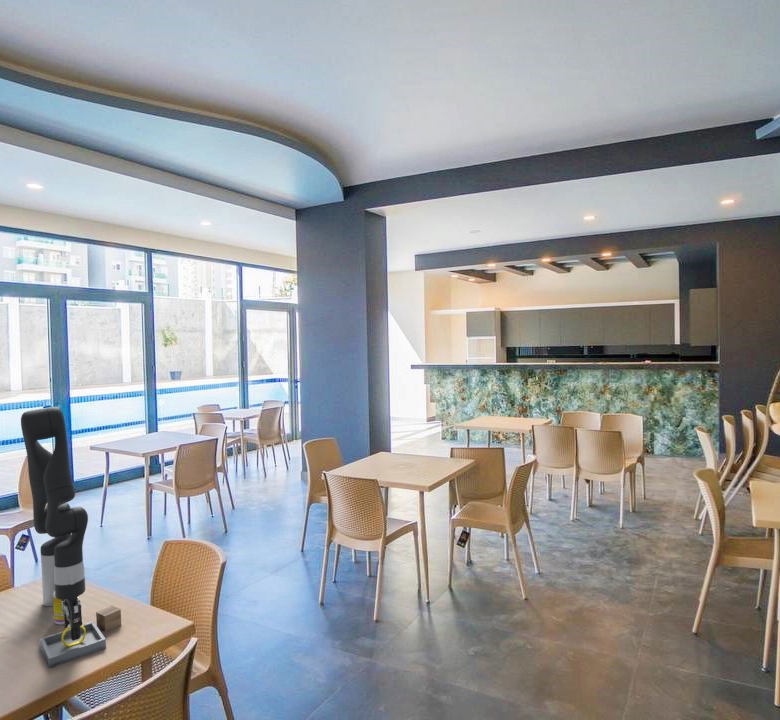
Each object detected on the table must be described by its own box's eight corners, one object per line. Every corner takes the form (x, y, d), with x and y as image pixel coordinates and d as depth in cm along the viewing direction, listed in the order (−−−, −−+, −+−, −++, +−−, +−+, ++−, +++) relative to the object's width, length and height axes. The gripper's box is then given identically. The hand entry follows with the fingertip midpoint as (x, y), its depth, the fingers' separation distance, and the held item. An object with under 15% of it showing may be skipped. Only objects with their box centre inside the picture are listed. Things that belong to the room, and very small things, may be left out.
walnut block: (96, 628, 168) (96, 612, 168) (112, 620, 173) (111, 605, 172) (105, 632, 166) (104, 616, 166) (121, 625, 170) (120, 609, 170)
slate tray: (40, 647, 158) (40, 638, 158) (94, 629, 167) (93, 621, 167) (49, 668, 148) (49, 658, 147) (106, 647, 157) (105, 639, 157)
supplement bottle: (67, 626, 170) (65, 585, 170) (49, 624, 171) (47, 584, 171) (83, 615, 176) (81, 576, 176) (65, 614, 178) (63, 575, 177)
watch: (63, 651, 155) (60, 631, 155) (62, 646, 157) (59, 627, 157) (87, 642, 158) (84, 622, 158) (86, 638, 161) (83, 618, 160)
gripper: (50, 574, 160) (52, 629, 160) (59, 590, 149) (62, 648, 150) (78, 567, 165) (81, 619, 165) (90, 581, 154) (93, 638, 154)
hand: (72, 633), depth 157 cm, fingers open, 8 cm apart
